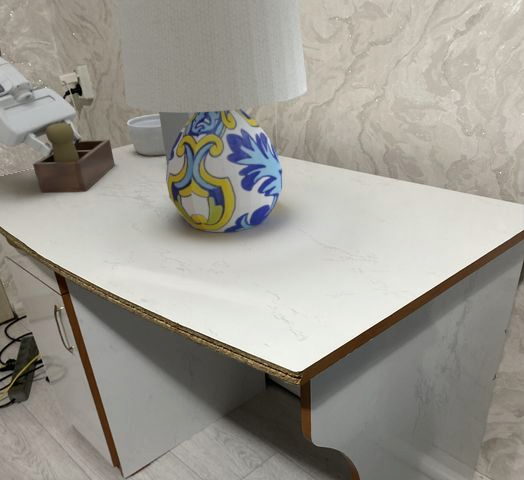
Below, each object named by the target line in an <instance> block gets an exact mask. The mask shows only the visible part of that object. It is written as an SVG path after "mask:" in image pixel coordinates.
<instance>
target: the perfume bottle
mask: <svg viewBox="0 0 524 480" xmlns="http://www.w3.org/2000/svg"><path fill="white" fill-rule="evenodd" d="M158 114H159V115H160V122H161V128H162V135H163V141H164V148H165V154H166V155H165V160H166V165H167V164H168V161H169V157H170V154H171V150H172V147H173V145H174V143H175V141H176V139H177V137H178V135H179V133H180V131H181V130H182V128H183V127H184V126H185V125H186V124H187V122H188V121H189V120H190V119H191V117H192V116H193V115H194V114H195V112H185V113H177V112H158Z"/></svg>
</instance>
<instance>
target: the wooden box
mask: <svg viewBox="0 0 524 480" xmlns="http://www.w3.org/2000/svg"><path fill="white" fill-rule="evenodd" d="M74 145H75V148H76V151H77V153H78V156H79V160H78V161H77V162H54V155H53V152H52V154H51V155H49V156H47V157H45V156H43V157H42V158H40V159H39V160H37V161H36V162H34V163H32V165H33V169H34V173H35V177H36V179H37V182H38V186H39V189H40V190H39V191H40V193H74V192H75V191H76V192H77V193H78V192H87V191H88V190H89V189H91V187H93V186H94V185H95V184H96V183H97V182H99V180H100V179H102V178H103V176H105V175H106V173H109V171H110V170H111V169H113V168H114V167H115V166H116V163H115V159H114V154H113V150H112V149H113V148H112V144H111V141H110V139H89V140H88V139H87V140H86V139H85V140H84V139H83V140H80V142H78V143H76V144H74Z"/></svg>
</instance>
